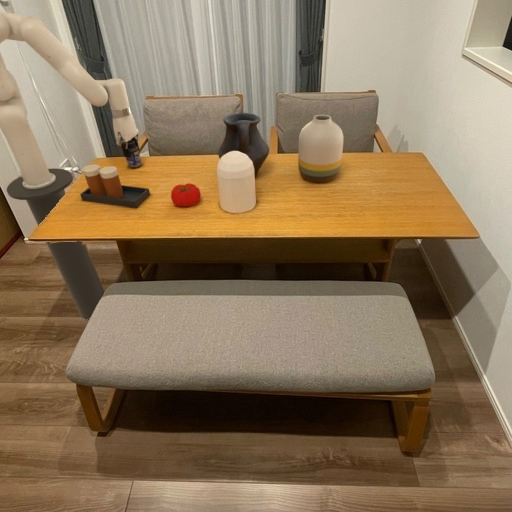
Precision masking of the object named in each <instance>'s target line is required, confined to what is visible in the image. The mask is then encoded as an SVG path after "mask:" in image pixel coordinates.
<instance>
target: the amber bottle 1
mask: <svg viewBox="0 0 512 512" xmlns="http://www.w3.org/2000/svg"><path fill="white" fill-rule="evenodd" d="M101 169H102V168H101V166H100V165H99V164H97V163H96V164H95V163H94V164H88V165H85V166H83V167H82V172H83V175H84V177H85V180H86V183H87V186H88V188H89V189H90V192H91V195H96V196H105V195H106V194H107V193H106V190H105V186H104V183H103V180H102V177H101V175H100V170H101Z"/></svg>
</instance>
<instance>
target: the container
mask: <svg viewBox="0 0 512 512" xmlns="http://www.w3.org/2000/svg"><path fill="white" fill-rule="evenodd" d="M255 176H256V175H254V166H253V162H252V161H251V159H250V158H249V157H248V156H247V155H246V154H244V153H241V152H239V151H231V152H228V153H226V154H225V155H223V156H222V157H221V158H219V160H218V162H217V165H216V179H217V188H218V196H219V197H218V198H219V205H220V207H221V209H222V210H223V211H225V212H227V213H232V214H241V213H245V212H249V211H251V210H253V209H254V208H255V207H256V205H257V197H256V179H255V178H256V177H255Z"/></svg>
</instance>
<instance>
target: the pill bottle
mask: <svg viewBox="0 0 512 512" xmlns="http://www.w3.org/2000/svg"><path fill="white" fill-rule="evenodd" d="M123 144H124V145H125V142H123ZM128 148H129V149H130V153H131V157H125V160H126V164H127V167H128V168H129V169H138V168H141V167H142V165H143V163H142V158H141V154H140V150H138V147H137V146H135V141H134V140H131V139H130V140H129V141H128Z"/></svg>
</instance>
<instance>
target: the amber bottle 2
mask: <svg viewBox="0 0 512 512" xmlns="http://www.w3.org/2000/svg"><path fill="white" fill-rule="evenodd" d="M100 169H101V170H100V175H101V177H102V180H103V183H104V186H105V190H106V193H107V196H108V197H110V198H118V199H120V198H122V197H123V196H124V193H123V190H122V186H121V185H122V183H121V179H120V175H119V171H118V168H117V167H116V166H112V165H110V166H104V167H101V168H100Z"/></svg>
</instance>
